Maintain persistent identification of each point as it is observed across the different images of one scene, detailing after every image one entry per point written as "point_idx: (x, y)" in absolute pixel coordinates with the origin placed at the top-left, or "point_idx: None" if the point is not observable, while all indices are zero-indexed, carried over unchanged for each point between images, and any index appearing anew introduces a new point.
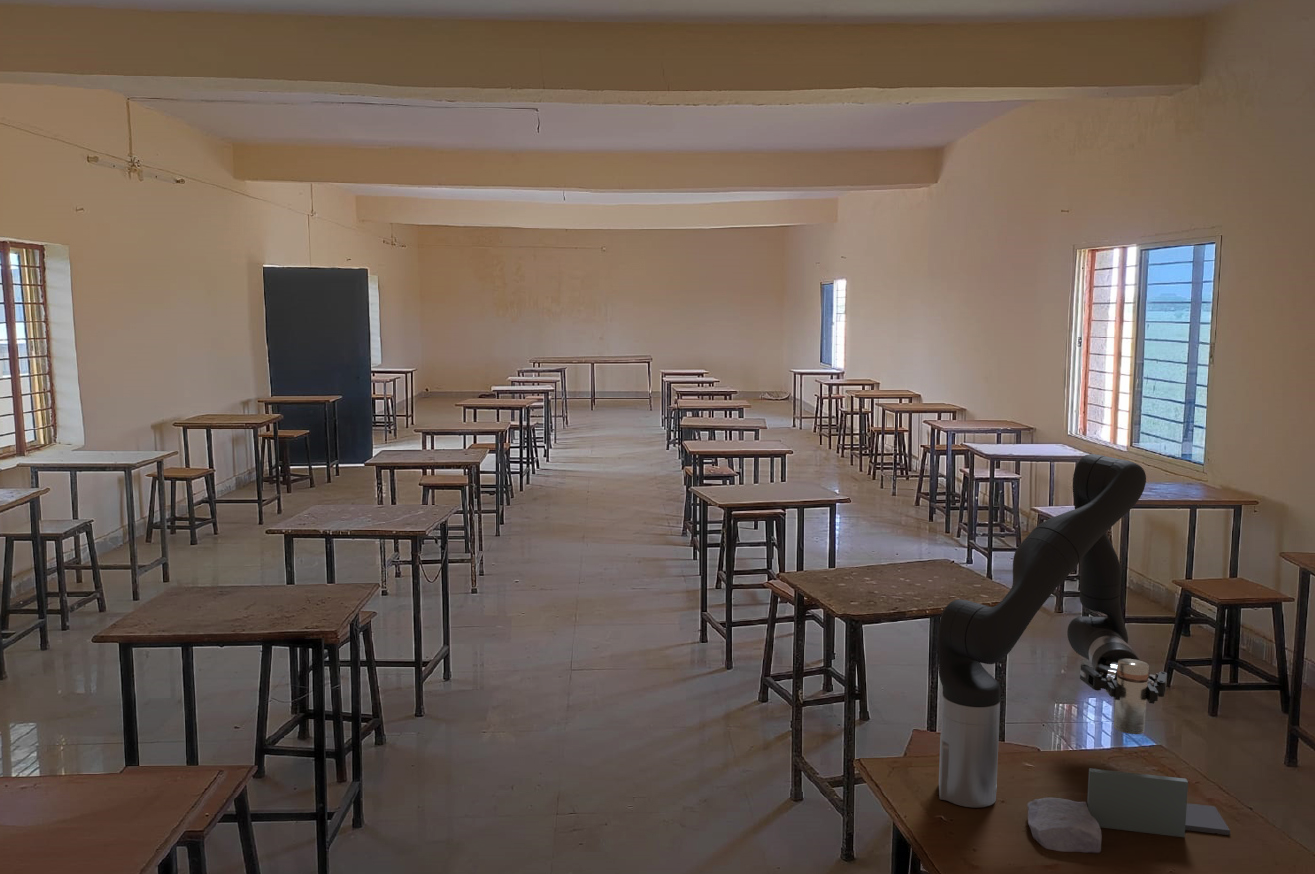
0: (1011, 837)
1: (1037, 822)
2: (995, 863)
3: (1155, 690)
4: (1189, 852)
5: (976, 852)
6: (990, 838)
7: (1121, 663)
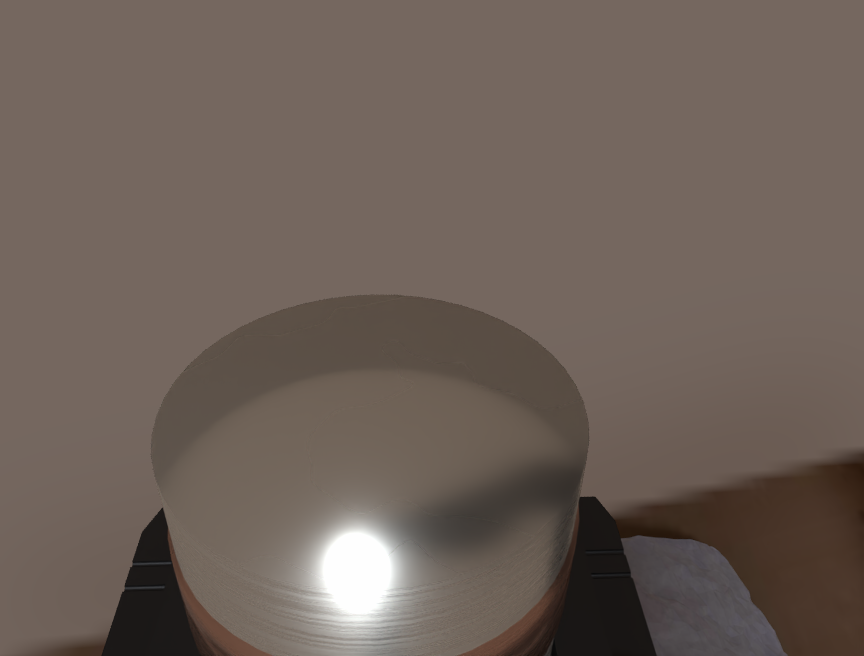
0: (802, 609)
1: (745, 613)
2: (786, 473)
3: (154, 562)
4: None
5: (853, 507)
6: (856, 586)
7: (540, 372)
